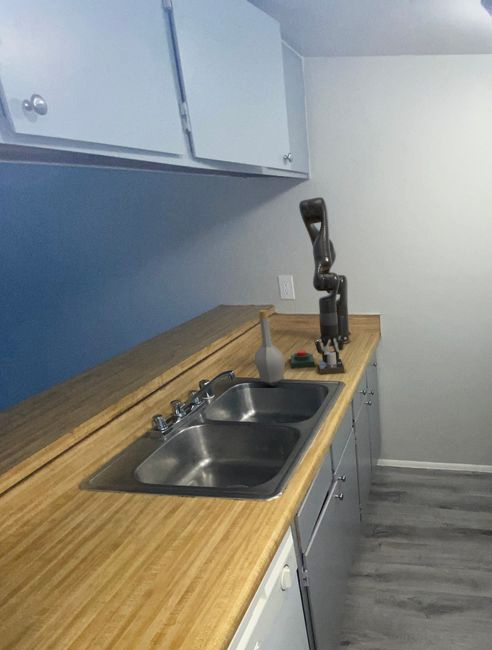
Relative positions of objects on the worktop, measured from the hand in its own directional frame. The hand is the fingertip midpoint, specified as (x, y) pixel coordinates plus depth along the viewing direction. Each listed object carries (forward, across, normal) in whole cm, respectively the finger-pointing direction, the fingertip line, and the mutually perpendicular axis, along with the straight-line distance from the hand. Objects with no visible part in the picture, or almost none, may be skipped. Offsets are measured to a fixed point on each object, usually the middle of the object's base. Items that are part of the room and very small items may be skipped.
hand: (330, 361), depth 207 cm
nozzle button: (0, +6, -15) cm, 16 cm away
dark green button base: (+4, +6, -15) cm, 17 cm away
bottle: (+4, +29, +4) cm, 30 cm away
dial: (+1, 0, 0) cm, 1 cm away
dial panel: (+4, 0, 0) cm, 4 cm away
